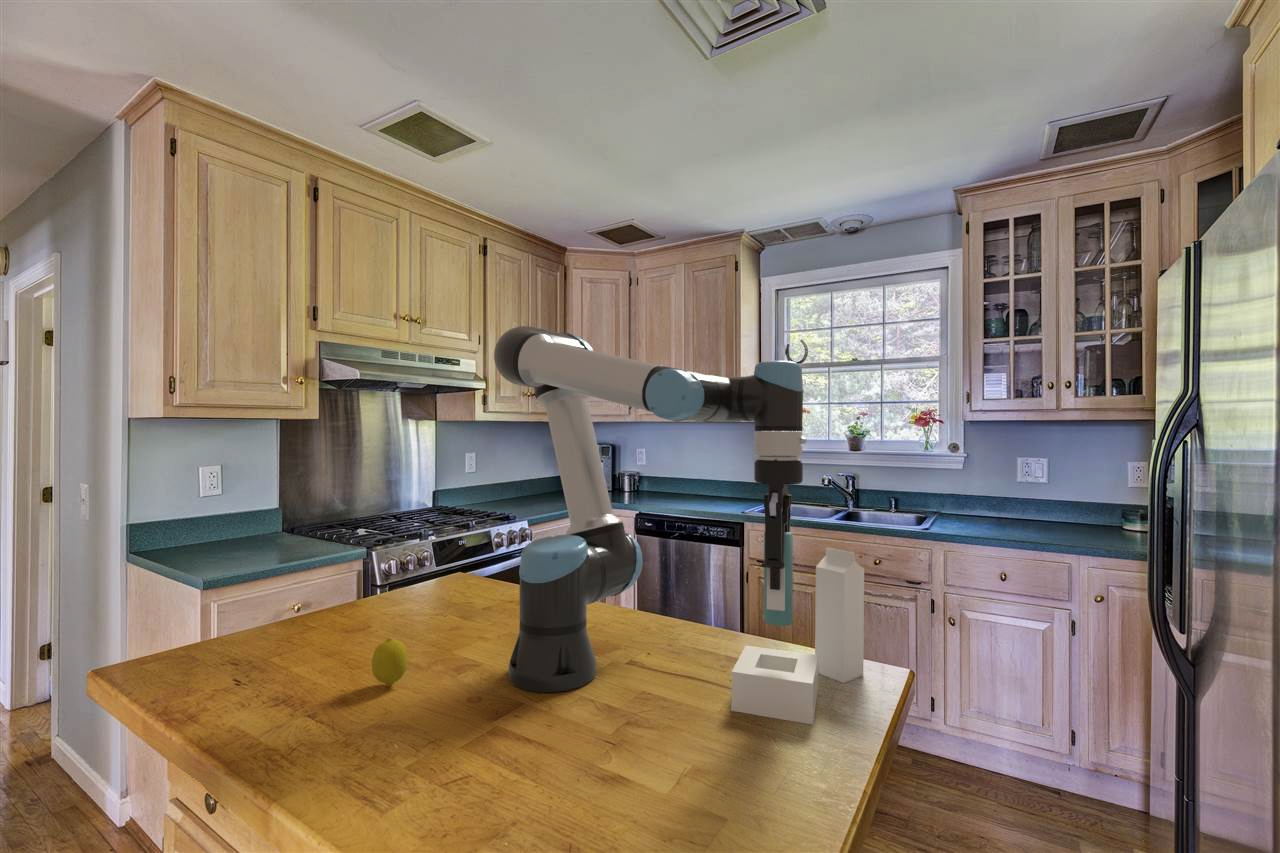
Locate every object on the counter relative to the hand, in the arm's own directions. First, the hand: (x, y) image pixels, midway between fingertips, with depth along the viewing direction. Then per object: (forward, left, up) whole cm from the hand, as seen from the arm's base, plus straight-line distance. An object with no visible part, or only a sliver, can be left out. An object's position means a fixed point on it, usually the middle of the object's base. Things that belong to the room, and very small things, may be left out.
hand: (777, 604), depth 96 cm
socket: (0, 0, -15) cm, 15 cm away
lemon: (-61, -18, -16) cm, 66 cm away
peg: (0, 0, -3) cm, 3 cm away
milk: (+9, +15, -16) cm, 23 cm away
